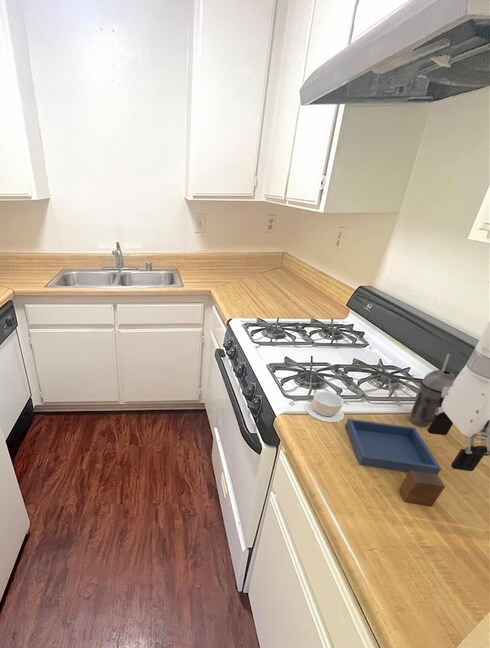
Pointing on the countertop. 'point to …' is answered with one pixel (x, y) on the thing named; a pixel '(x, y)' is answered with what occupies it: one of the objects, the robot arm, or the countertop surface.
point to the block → (421, 488)
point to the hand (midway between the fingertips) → (447, 450)
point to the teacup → (326, 406)
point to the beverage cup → (430, 396)
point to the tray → (390, 447)
